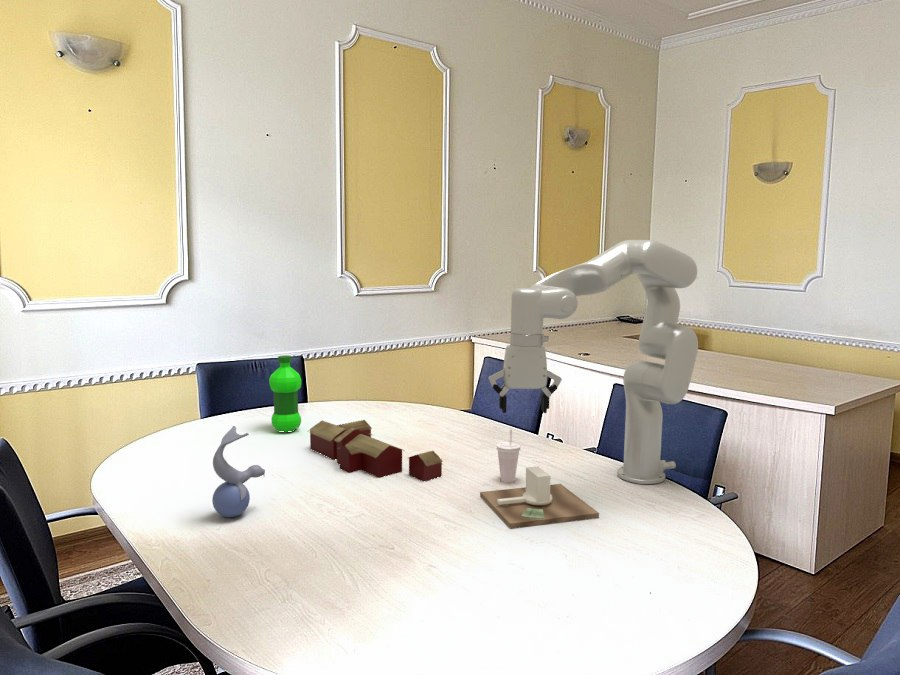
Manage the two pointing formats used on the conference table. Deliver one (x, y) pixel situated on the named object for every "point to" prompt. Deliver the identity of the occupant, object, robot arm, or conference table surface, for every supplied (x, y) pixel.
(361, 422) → the toy houses
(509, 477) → the smoothie
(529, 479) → the peg knob
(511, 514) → the dial board
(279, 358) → the plastic bottle
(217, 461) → the seal
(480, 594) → the conference table surface
